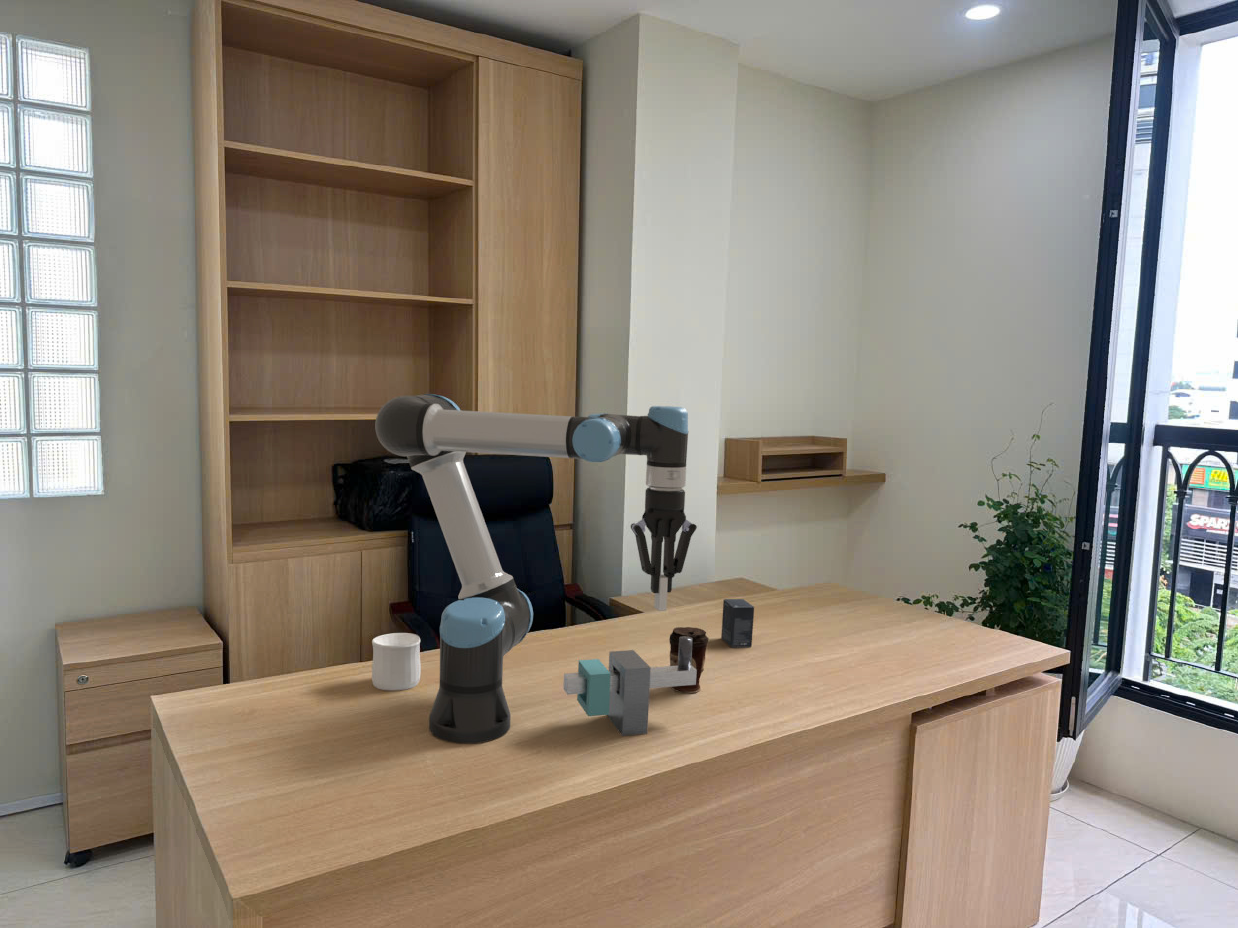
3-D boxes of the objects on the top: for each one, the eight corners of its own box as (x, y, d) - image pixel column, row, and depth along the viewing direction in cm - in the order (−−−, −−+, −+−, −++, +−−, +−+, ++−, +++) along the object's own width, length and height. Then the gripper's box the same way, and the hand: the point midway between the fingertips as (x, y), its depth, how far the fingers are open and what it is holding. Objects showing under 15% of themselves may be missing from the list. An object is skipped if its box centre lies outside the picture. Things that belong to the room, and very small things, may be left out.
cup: (429, 684, 182) (430, 639, 181) (388, 696, 174) (388, 649, 173) (404, 672, 188) (404, 629, 187) (363, 683, 181) (363, 638, 180)
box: (752, 647, 216) (754, 606, 215) (730, 648, 214) (733, 607, 213) (741, 637, 223) (743, 598, 222) (720, 638, 222) (722, 598, 221)
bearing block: (622, 736, 160) (625, 669, 159) (606, 715, 170) (609, 651, 168) (647, 733, 162) (650, 667, 160) (630, 713, 171) (633, 650, 170)
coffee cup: (693, 699, 180) (696, 639, 178) (659, 690, 184) (662, 631, 183) (711, 687, 187) (715, 629, 186) (678, 678, 192) (681, 622, 190)
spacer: (588, 716, 159) (589, 674, 158) (577, 700, 166) (578, 660, 165) (608, 714, 160) (610, 673, 159) (596, 698, 168) (598, 659, 167)
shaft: (567, 694, 160) (569, 648, 159) (563, 688, 162) (565, 642, 161) (695, 684, 168) (698, 640, 167) (690, 679, 171) (692, 635, 170)
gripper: (639, 491, 157) (634, 616, 159) (705, 490, 161) (699, 612, 163) (626, 485, 164) (622, 605, 166) (689, 484, 168) (684, 602, 170)
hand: (660, 608), depth 165 cm, fingers closed
